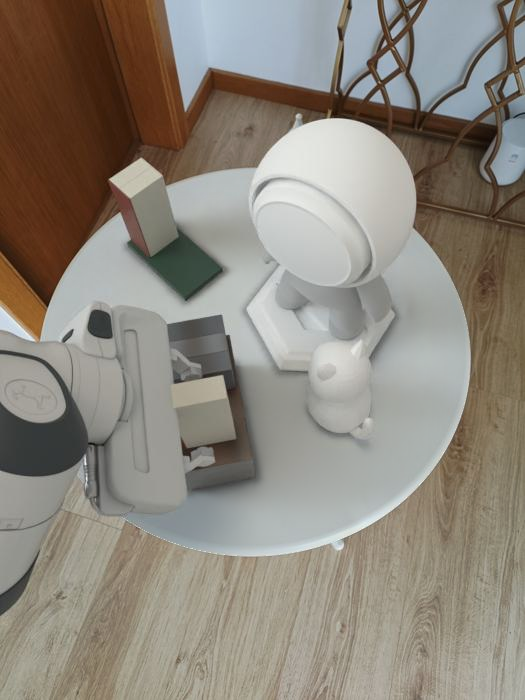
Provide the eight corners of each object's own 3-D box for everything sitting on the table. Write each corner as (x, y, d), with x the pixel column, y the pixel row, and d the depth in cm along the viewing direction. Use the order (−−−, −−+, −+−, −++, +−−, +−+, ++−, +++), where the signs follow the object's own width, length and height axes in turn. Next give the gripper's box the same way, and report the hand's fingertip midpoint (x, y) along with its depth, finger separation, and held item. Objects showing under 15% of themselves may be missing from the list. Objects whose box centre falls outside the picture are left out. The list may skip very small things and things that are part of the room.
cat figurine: (338, 361, 80) (351, 311, 66) (392, 428, 75) (418, 389, 61) (288, 393, 78) (291, 347, 64) (340, 464, 73) (355, 431, 59)
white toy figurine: (225, 337, 82) (193, 168, 50) (304, 235, 90) (319, 34, 58) (338, 405, 77) (382, 264, 45) (411, 290, 85) (492, 102, 53)
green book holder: (185, 301, 85) (168, 242, 71) (127, 246, 90) (101, 182, 76) (223, 271, 87) (213, 209, 74) (164, 219, 92) (145, 152, 78)
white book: (185, 448, 64) (164, 409, 51) (183, 429, 65) (161, 386, 53) (236, 439, 64) (227, 398, 52) (233, 419, 66) (223, 374, 53)
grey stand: (189, 490, 72) (168, 460, 57) (174, 376, 79) (152, 324, 65) (255, 477, 72) (250, 444, 58) (234, 365, 80) (225, 311, 65)
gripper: (105, 506, 41) (240, 505, 50) (93, 284, 50) (209, 318, 59) (67, 526, 44) (199, 521, 54) (62, 316, 53) (176, 344, 63)
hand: (204, 414), depth 56 cm, fingers open, 8 cm apart
